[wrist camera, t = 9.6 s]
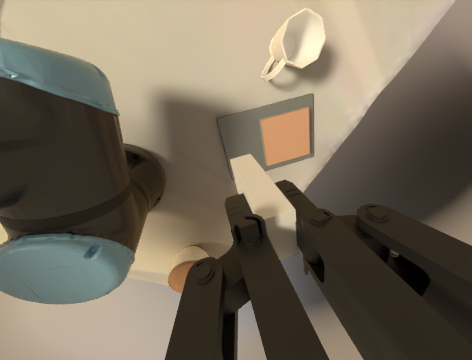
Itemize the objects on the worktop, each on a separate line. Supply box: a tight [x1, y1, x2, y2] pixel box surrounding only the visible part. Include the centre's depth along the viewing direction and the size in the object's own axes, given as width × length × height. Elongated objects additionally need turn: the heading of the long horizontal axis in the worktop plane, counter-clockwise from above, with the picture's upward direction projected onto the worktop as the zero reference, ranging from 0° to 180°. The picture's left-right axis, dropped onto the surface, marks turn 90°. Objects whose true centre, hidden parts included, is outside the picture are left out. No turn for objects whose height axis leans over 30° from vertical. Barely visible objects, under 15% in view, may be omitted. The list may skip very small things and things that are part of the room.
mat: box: [217, 94, 313, 180], centre depth 41 cm, size 20×14×1 cm
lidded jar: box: [168, 246, 209, 293], centre depth 48 cm, size 11×11×9 cm
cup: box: [261, 8, 326, 81], centre depth 31 cm, size 7×10×8 cm
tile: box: [258, 106, 310, 166], centre depth 40 cm, size 2×10×10 cm
